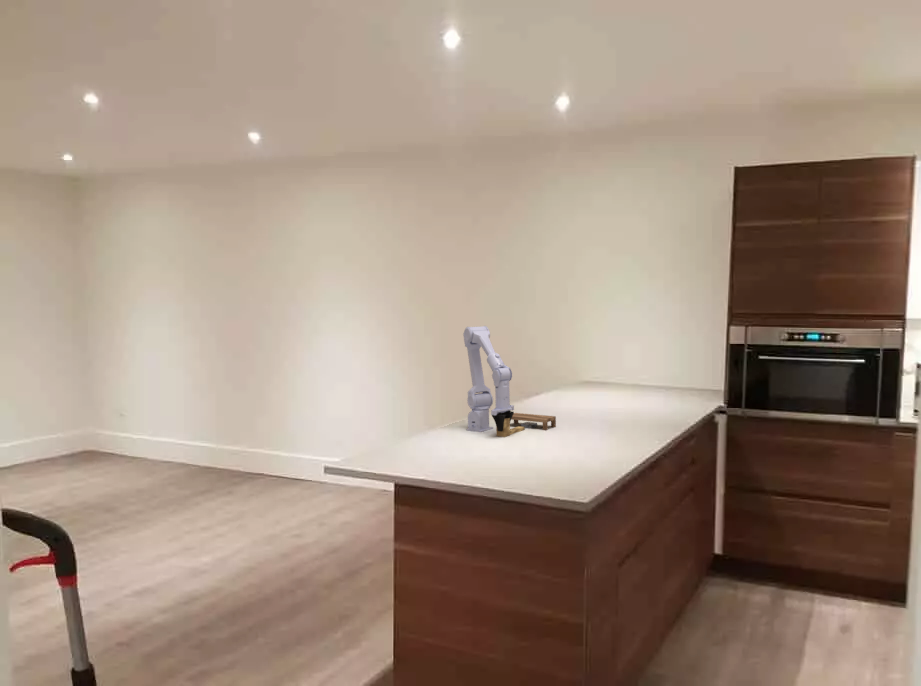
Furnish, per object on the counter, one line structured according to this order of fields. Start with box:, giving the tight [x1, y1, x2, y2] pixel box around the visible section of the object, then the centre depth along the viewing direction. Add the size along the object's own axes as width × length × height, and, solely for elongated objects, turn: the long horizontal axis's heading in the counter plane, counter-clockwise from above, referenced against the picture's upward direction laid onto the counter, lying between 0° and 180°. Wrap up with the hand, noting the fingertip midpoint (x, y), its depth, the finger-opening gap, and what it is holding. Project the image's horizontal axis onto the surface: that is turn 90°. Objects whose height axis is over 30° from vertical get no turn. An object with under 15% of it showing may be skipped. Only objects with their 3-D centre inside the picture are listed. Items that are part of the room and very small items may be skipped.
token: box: [520, 421, 538, 429], centre depth 322 cm, size 5×5×2 cm
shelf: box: [511, 412, 557, 431], centre depth 323 cm, size 9×20×4 cm, turn 55°
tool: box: [495, 418, 526, 438], centre depth 310 cm, size 17×4×7 cm, turn 146°
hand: (503, 430), depth 304 cm, fingers closed on tool, 4 cm apart
